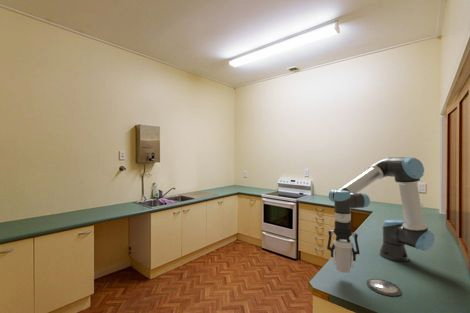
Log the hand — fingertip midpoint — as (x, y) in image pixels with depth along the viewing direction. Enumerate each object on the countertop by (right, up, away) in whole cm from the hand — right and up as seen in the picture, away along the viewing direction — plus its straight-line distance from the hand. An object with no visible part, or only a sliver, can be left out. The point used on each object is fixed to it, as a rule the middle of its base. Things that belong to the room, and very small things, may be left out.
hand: (343, 265), depth 116 cm
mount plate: (+16, -7, -7) cm, 19 cm away
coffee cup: (0, -2, 0) cm, 2 cm away
